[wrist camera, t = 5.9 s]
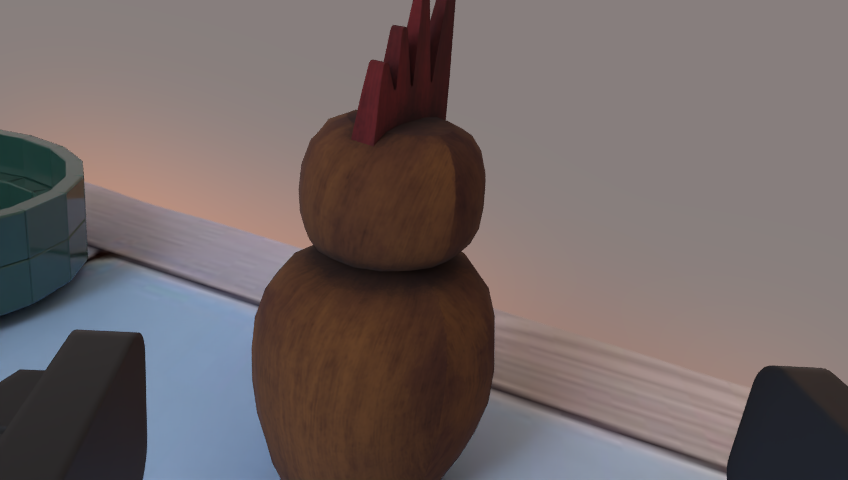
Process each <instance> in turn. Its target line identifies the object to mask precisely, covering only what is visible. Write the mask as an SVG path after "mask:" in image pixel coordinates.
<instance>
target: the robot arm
mask: <svg viewBox="0 0 848 480" xmlns="http://www.w3.org/2000/svg"><path fill="white" fill-rule="evenodd" d="M146 453H147V412H146V369H145V345H144V339H143V336H142V334H141V333H135V332H115V331H95V330H74V331H72V332H71V333H70V335H69V336H68V338H67V339H66V341H65V342H64V343H63V345H62V346H61V348H60V349H59V351H58V352H57V354H56V355H55V357H54V358H53V360H52V361H51V363H50V364H49V366H48V367H47V369H46V370H45V371H44V370H18V371H17V372H15V373H14V374H12V375H10V376H9V377H7V378H6V379H4V380H3V381H1V382H0V480H143V475H144V470H145V463H146ZM727 480H848V386H847V385H846V384H844V383H843V382H842V381H841V380H840V379H839V378H838V377H836V376H835V375H834V374H833V373H832V372H830V371H829V370H826V369H823V368H810V367H791V366H767V367H764V368H763V369H762V370H761V371H760V372H759V373H758V374H757V376H756V378H755V380H754V382H753V385H752V388H751V391H750V394H749V397H748V400H747V403H746V406H745V410H744V413H743V416H742V419H741V422H740V425H739V428H738V431H737V434H736V437H735V440H734V443H733V446H732V449H731V452H730V455H729V459H728V464H727Z"/></svg>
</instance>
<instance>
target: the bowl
mask: <svg viewBox="0 0 848 480" xmlns="http://www.w3.org/2000/svg"><path fill="white" fill-rule="evenodd" d="M87 258H88V250H87V230H86V209H85V189H84V172H83V161H82V160H81V159H79V158H78V157H77V156H75V155H74V154H73V153H72V152H70V151H69V150H68V149H66V148H65V147H63V146H60V145H57V144H54V143H52V142H49V141H46V140H43V139H40V138H37V137H34V136H32V135H26V134H21V133H15V132H9V131H4V130H0V316H2V315H5V314H8V313H10V312H13V311H16V310H19V309H21V308H24V307H27V306H30V305H32V304H34V303H36V302H38V301H39V300H41V299H43V298H44V297H46V296H47V295H49V294H51V293H52V292H54V291H56V290H57V289H59V288H61V287H62V286H64V285H65V284H67V283H69V282H70V281H71V280H72V279H73V277H74V276H75V275H76V274H77V272H78V271H79V270H80V268H81V267H82V266H83V264H84V263H85V262H86V261H87Z"/></svg>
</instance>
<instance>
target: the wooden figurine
mask: <svg viewBox="0 0 848 480" xmlns="http://www.w3.org/2000/svg"><path fill="white" fill-rule="evenodd" d="M454 12H455V0H436V3H435V6H434V10H433V13H432V16H431V20H430V0H413V4H412V8H411V12H410V17H409V21H408V25H407V27H403V26H397V25H393V26H392V27H391V30H390V35H389V40H388V44H387V49H386V54H385V58H384V62H382V61H377V60H371V61H370V62H369V66H368V69H367V74H366V77H365V81H364V85H363V89H362V93H361V98H360V102H359V106H358V110H354V111H351V112H349V113H345V114H342V115H339V116H336V117H333V118H330V119H328V121H327V122H326V123H325V124H324V126H323V127H322V128H321V129H320V131H319V132H318V133H317V134H316V135H315V136H314V137H313V138H312V139H311V141H310V143H309V146H308V148H307V151H306V153H305V156H304V159H303V161H302V165H301V173H300V182H299V203H300V213H301V216H302V220H303V223H304V227H305V230H306V232H307V234H308V237H309V239H310V241H311V242H312V243H313V245H312V246H310V247H308V248H305V249H303V250H300V251H298V252H296V253H294V255H293V256H292V257H291V258H290V259H289V260H288V261H287V262H286V263H285V264H284V265H283V267H282V268H281V269H280V270H279V271H278V272H277V273H276V275H275V276H274V277H273V279H272V280H271V281H270V283H269V284H268V286H267V287H266V288H265V291H264V294H263V296H262V299H261V302H260V305H259V307H258V310H257V313H256V315H255V322H254V331H253V341H252V381H253V388H254V395H255V401H256V408H257V414H258V417H259V420H260V423H261V427H262V430H263V433H264V436H265V439H266V442H267V446H268V450H269V453H270V457H271V460H272V463H273V465H274V467H275V469H276V471H277V472H278V474H279V476H280V478H281V480H441V478H442V477H443V476H444V474H445V473H446V472H447V471H448V469H449V468H450V467H451V466H452V465H453V463H454V462H455V461H456V460H457V458H458V457H459V456H460V455H461V453H462V451H463V450H464V448H465V447H466V445H467V443H468V442H469V440H470V439H471V437H472V435H473V434H474V432H475V430H476V428H477V426H478V423H479V421H480V419H481V417H482V415H483V412H484V410H485V408H486V406H487V404H488V400H489V395H490V389H491V384H492V379H493V373H494V328H495V315H494V311H493V306H492V302H491V297H490V293H489V288H488V287H487V285H486V284H485V282H484V281H483V279H482V278H481V277H480V275H479V274H478V272H477V271H476V269H475V268H474V267H473V265H472V264H471V262H470V261H469V259H468V258H467V256H466V255H465V254H464V253H463V252H461V251H462V250H463V249H464V248H466V247H467V246H468V245H469V244H470V243H471V241H472V239H473V238H474V236H475V234H476V233H477V231H478V229H479V225H480V221H481V216H482V212H483V206H484V194H485V169H484V164H483V158H482V153H481V150H480V148H479V146H478V145H477V143H476V142H475V140H474V138H473V136H472V135H470V134H469V133H468V132H466V131H465V130H463V129H462V128H460V127H458V126H456V125H454V124H452V123H450V122H448V121H446V111H447V98H448V89H449V78H450V64H451V51H452V39H453V26H454Z"/></svg>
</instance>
